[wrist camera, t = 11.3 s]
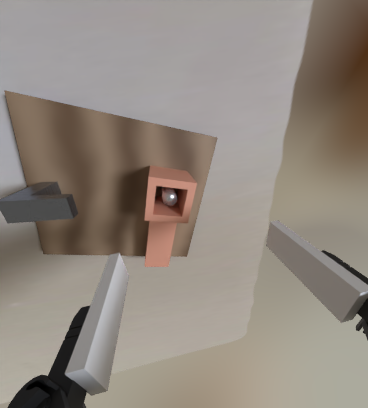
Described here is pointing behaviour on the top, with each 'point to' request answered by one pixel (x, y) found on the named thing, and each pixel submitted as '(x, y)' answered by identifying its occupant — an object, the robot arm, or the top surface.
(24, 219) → the bracket
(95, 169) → the board
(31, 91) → the top surface
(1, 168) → the top surface
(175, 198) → the peg
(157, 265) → the link
